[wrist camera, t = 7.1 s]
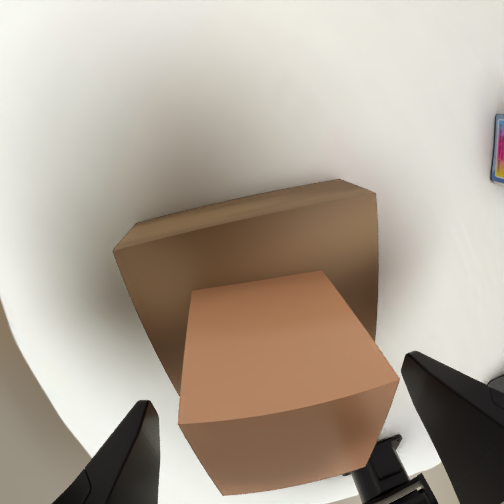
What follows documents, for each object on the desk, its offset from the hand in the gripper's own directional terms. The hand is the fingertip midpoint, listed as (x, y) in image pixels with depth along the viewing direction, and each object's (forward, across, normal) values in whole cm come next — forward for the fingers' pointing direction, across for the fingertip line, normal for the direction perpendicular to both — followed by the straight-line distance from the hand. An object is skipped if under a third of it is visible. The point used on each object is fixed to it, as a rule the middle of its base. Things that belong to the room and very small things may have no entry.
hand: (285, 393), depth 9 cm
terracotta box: (+4, 0, 0) cm, 4 cm away
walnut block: (+8, 0, 0) cm, 8 cm away
